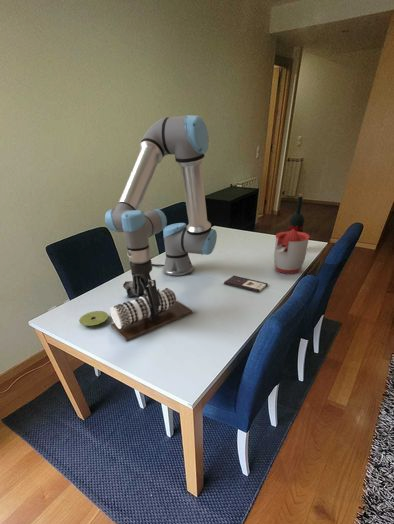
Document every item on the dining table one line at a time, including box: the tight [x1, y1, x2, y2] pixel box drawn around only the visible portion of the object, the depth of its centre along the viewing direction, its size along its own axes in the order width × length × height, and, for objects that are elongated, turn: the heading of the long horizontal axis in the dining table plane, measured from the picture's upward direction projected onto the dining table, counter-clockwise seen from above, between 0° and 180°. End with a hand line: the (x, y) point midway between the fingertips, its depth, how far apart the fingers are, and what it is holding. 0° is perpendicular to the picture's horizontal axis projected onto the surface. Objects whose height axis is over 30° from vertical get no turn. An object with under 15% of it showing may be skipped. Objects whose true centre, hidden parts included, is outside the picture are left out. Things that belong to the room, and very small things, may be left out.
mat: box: [78, 310, 109, 327], centre depth 117 cm, size 11×11×2 cm
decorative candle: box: [109, 287, 177, 329], centre depth 112 cm, size 9×9×25 cm
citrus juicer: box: [273, 229, 311, 275], centre depth 143 cm, size 16×17×20 cm
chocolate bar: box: [223, 275, 268, 293], centre depth 138 cm, size 9×1×18 cm
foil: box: [122, 280, 160, 298], centre depth 131 cm, size 12×11×15 cm
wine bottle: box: [287, 193, 305, 232], centre depth 161 cm, size 8×10×30 cm
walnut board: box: [110, 300, 193, 342], centre depth 116 cm, size 30×13×1 cm, turn 128°
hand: (149, 316), depth 115 cm, fingers closed on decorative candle, 8 cm apart
